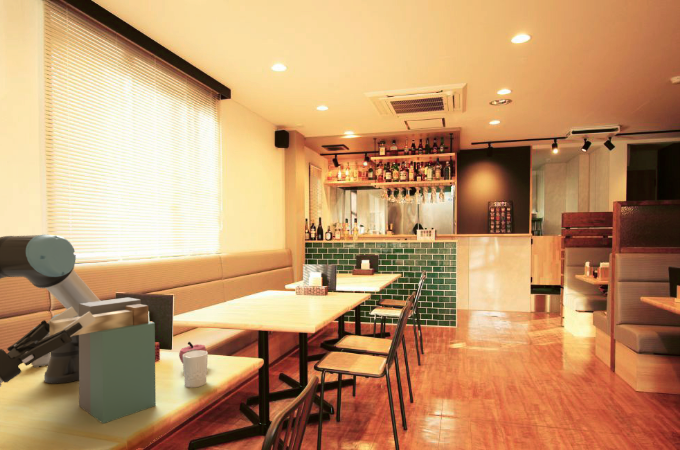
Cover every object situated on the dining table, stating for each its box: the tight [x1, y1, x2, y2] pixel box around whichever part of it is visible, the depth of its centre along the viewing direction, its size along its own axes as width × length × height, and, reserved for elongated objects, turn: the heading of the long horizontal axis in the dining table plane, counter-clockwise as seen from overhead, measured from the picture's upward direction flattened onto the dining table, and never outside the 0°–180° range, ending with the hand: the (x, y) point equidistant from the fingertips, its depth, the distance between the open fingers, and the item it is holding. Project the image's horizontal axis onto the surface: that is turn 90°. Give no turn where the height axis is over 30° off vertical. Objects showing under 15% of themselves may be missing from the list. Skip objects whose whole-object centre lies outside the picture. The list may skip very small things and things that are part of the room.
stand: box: [78, 297, 157, 424], centre depth 118 cm, size 14×18×30 cm
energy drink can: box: [30, 326, 51, 368], centre depth 158 cm, size 6×6×15 cm
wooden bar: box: [50, 303, 150, 336], centre depth 111 cm, size 23×6×5 cm, turn 140°
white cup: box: [182, 350, 209, 388], centre depth 134 cm, size 8×8×10 cm
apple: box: [178, 341, 207, 364], centre depth 149 cm, size 10×9×10 cm
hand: (83, 312), depth 107 cm, fingers open, 13 cm apart
